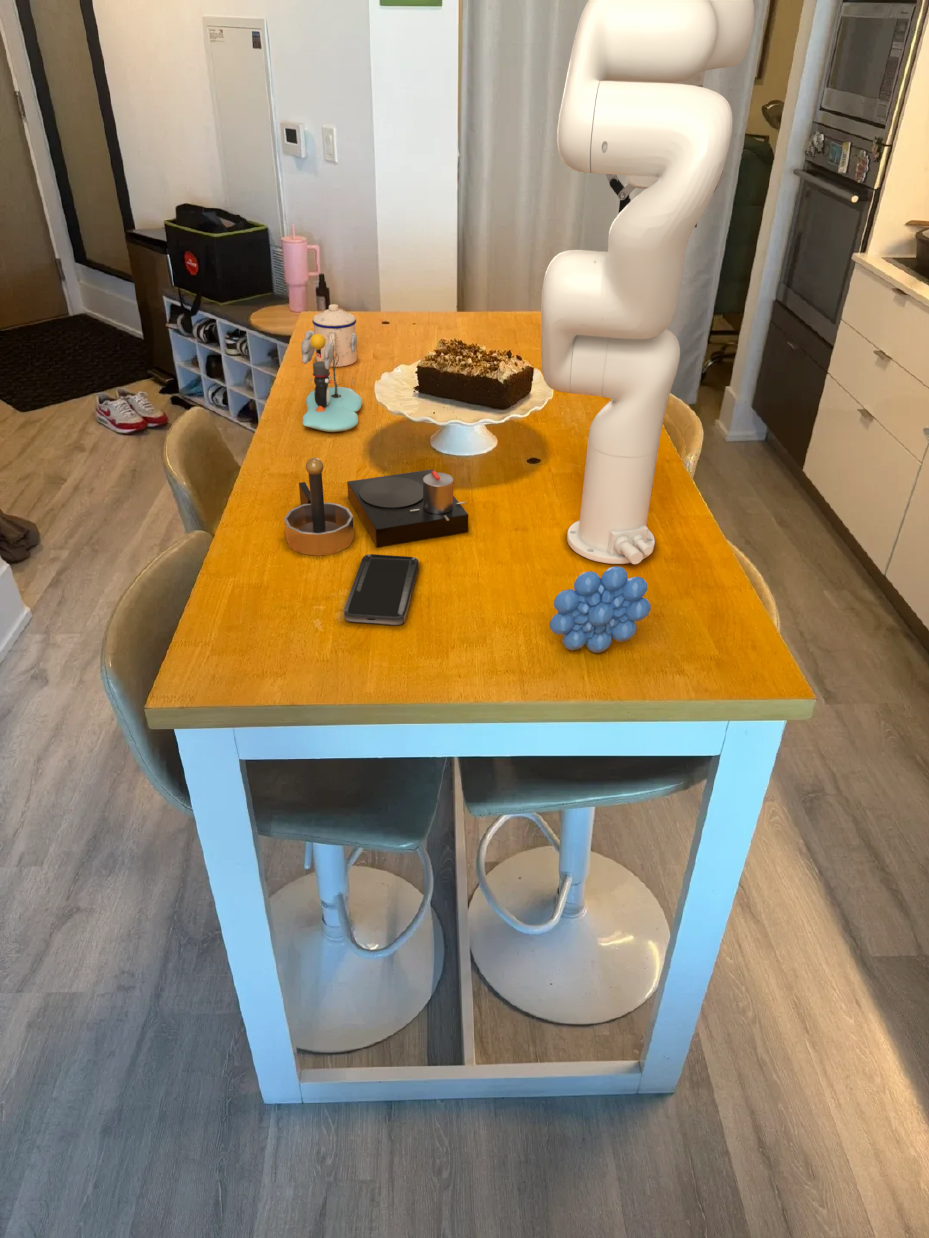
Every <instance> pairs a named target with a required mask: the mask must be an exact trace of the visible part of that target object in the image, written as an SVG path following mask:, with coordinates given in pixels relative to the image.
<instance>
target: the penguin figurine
mask: <svg viewBox="0 0 929 1238" xmlns="http://www.w3.org/2000/svg"><path fill="white" fill-rule="evenodd" d="M330 335H332V334H330ZM331 337H332V336H331ZM337 338H338V337H337ZM330 342H331V341H330ZM330 342H329V343H327V345H326V347H325V351H324V360H325V362H324V361H319V362H317V361H315V362H313V363H312V369H313V373H312V376H313V377H314V379H313V382H314V385H315V387H314V390H312V391H310V393H308V394H307V396H306V399H305V404H306V406H307V407H306V412H305V413H304V415H302V425H303V426H304V427H307V428H310V429H314V430H318V431H321V432H322V431H323V432H329V433H339V432H344V431H348V430H351V429H353V428H355V427H356V426H357V425H358V424H359V417H358V413H357V412H359V411H360V410H361V408H362V406H363V398H362V397H361V395H360V394H359V393H357V392H356V391H355V389H354V390H353V389H352V388H349V387H343V386H342V384H340V383H338V382H337V378H336V369H337V368H339V367H338V364H337V363H338V361H339V357H338V361H337V363H336V364H335V361H336V360H335V359H334V358H335V357H336V356H335V357H334V351H335V350H334V345H333V346H332V344H333V343H332V342H333V340H332V342H331V343H332V344H331V343H330ZM325 343H326V339H325V338H324V336H323V335H321V334H314V330H307V331H305V333H304V338H303V339H302V341H301V346H300V349H301V350H300V351H301V356H302V357H301V361H302V363H303V364H304V365H307V364H308V363H310V362H311V361H312V359H313V356H314V354H315V352H316V349H318V350H319V349H322V348H323V347H324V346H325ZM357 346H358V336H357V333H356V334H355V333H353V334H352V337H351V351H352V352H355V349H356V350H357ZM337 347H338V346H337ZM337 356H338V355H337ZM332 360H333V361H332ZM332 362H334V363H333V367H332V373H333V379H332V376H331V372H330V369H331V367H330V366H331V363H332ZM341 362H342V361H341ZM334 365H335V367H334ZM336 365H337V367H336ZM340 365H341V364H340ZM310 382H312V379H310ZM329 384H333V385H334V386H331V387H329ZM351 385H354V380H352V383H351Z"/></svg>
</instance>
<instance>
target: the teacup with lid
mask: <svg viewBox="0 0 929 1238" xmlns="http://www.w3.org/2000/svg"><path fill="white" fill-rule="evenodd" d="M311 322H312V324H313V332H314V334H321V335H323V336H324V338H325V339H326V343H325V346H324V347H323V348H322V349H319V350H318V349H315V359H316V362H319V361H324V362H325V360H324V351H325V347H326V345H327V343H329V342H330V341H331V342H332V340H333V342H332V343H333V344H332V343H331V342H330V343H331V344H332V346H333V345H334V350H335V351H334V357H335V356H336V357H335V358H334V359H335V360H336V361H335V364H336V363H337V361H338V357H339V361H338V363H337V364H338V367H337V365H336V368H341V367H347V366H351V365H354V363H356V362H357V360H358V353H357V348H356V349H355V352H352V351H351V337H352V334H353V333H355V334H356V335H357V330H356V329H357V328H356V323H357V319H356V317H355V315H354V314H352V313H350V312H346V311H345V310H343V309H340V308H339V305H338V304H336V303H333V304H329V305H328V309H324V311H322V312H319V313H317V314H315V315H314V316H313V318H312V321H311ZM330 334H332V335H330ZM331 336H332V337H331ZM337 337H338V338H337ZM337 346H338V347H337ZM337 355H338V356H337ZM332 361H333V360H332ZM341 361H342V362H341ZM333 363H334V362H332V363H331V366H330V368H333ZM340 364H341V365H340ZM334 367H335V365H334Z"/></svg>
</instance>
